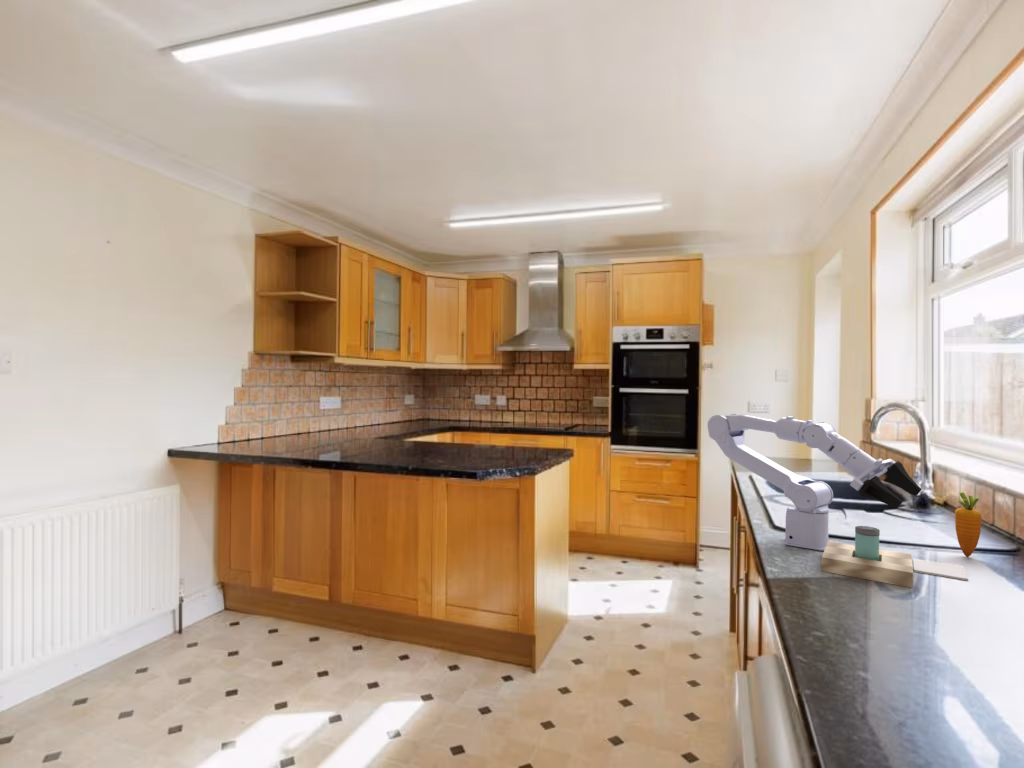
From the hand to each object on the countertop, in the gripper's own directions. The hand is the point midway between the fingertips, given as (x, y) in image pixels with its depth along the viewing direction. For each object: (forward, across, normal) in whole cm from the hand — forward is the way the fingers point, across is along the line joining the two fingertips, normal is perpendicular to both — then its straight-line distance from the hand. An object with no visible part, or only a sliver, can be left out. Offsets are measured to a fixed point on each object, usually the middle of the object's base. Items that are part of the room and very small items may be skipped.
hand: (909, 499), depth 119 cm
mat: (+12, +1, +12) cm, 17 cm away
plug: (+4, -12, +13) cm, 18 cm away
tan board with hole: (+4, -12, +13) cm, 18 cm away
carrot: (+13, +17, +16) cm, 27 cm away
